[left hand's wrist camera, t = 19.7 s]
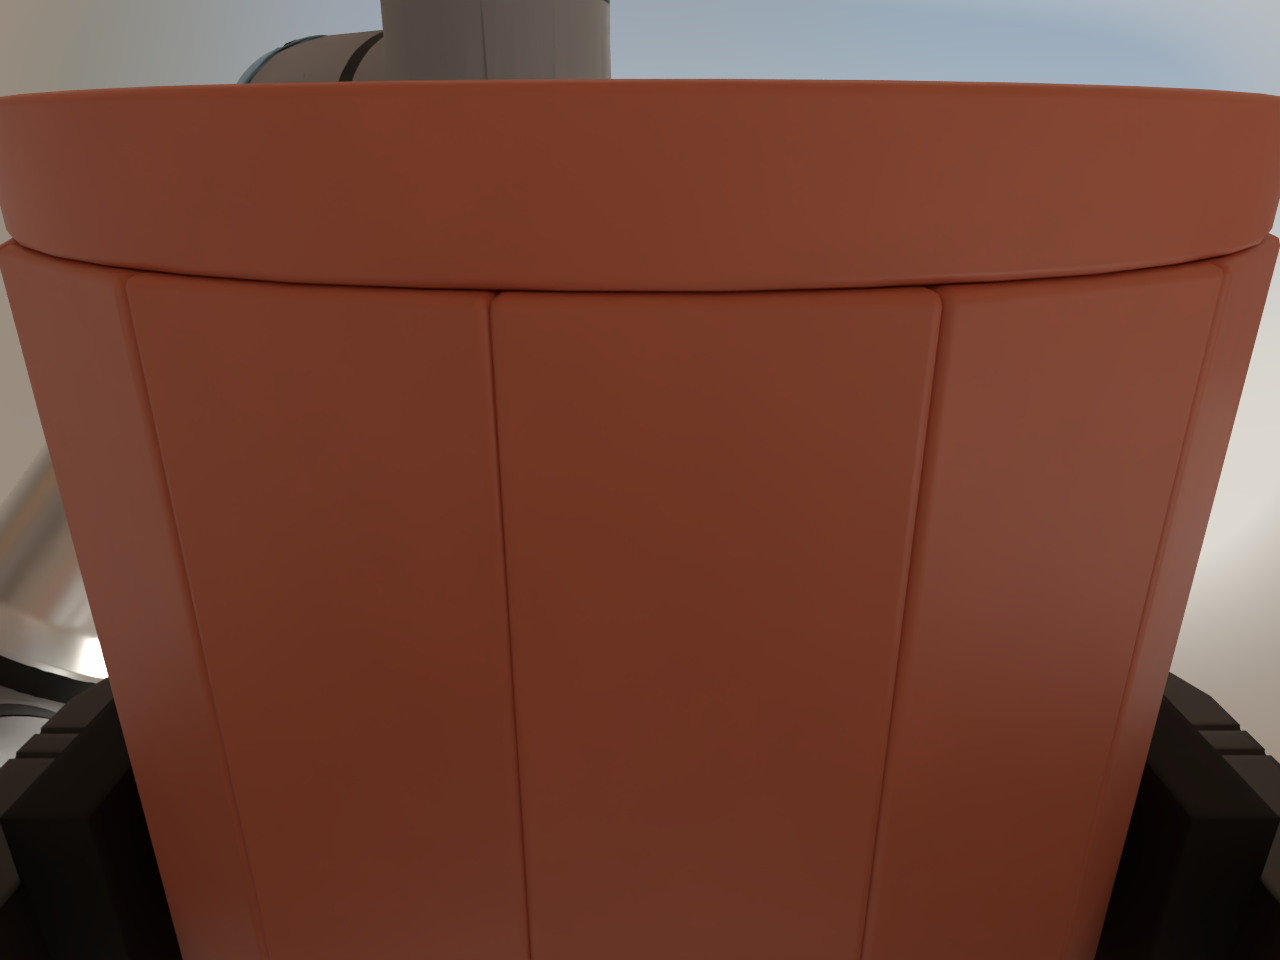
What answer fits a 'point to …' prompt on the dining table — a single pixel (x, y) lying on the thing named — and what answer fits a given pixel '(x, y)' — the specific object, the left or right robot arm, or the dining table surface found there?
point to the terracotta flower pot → (638, 495)
